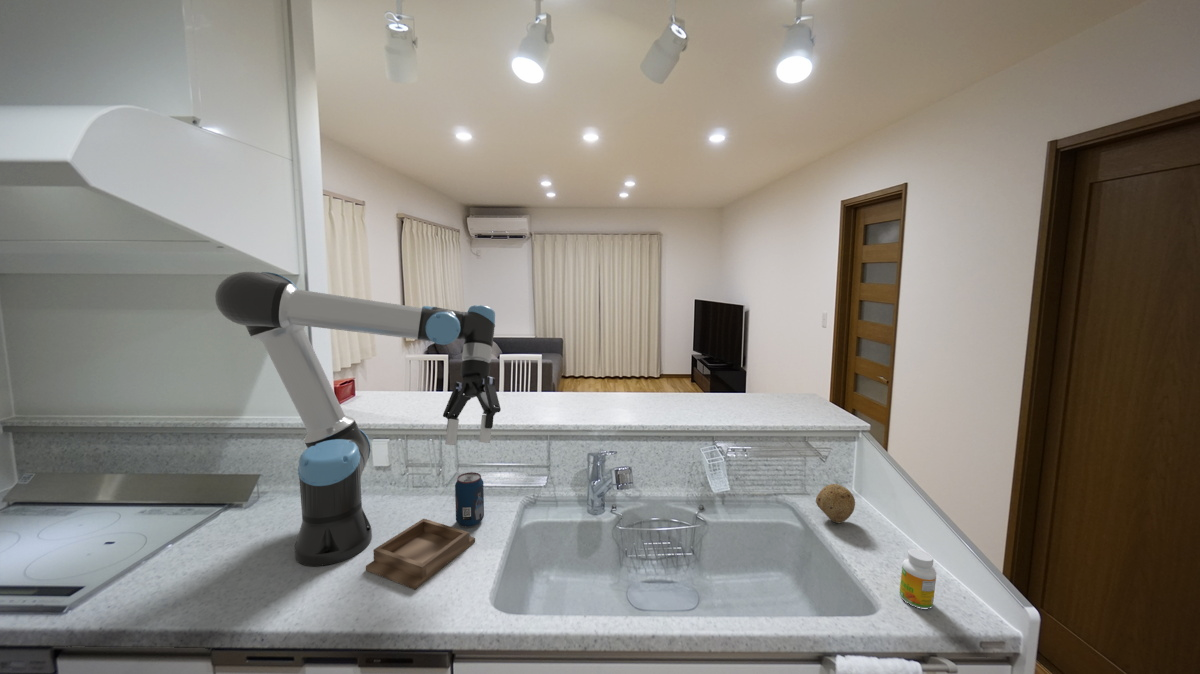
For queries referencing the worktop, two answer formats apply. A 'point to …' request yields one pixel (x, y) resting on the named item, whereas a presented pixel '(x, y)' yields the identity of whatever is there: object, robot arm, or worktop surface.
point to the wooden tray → (419, 552)
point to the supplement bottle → (918, 579)
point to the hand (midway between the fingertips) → (466, 443)
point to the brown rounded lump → (836, 502)
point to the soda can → (469, 499)
